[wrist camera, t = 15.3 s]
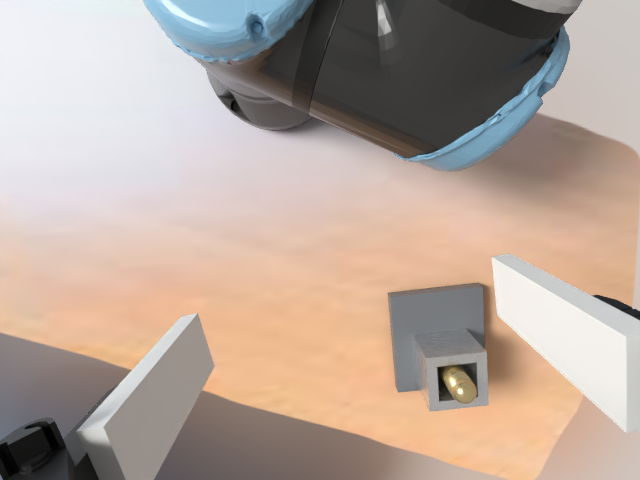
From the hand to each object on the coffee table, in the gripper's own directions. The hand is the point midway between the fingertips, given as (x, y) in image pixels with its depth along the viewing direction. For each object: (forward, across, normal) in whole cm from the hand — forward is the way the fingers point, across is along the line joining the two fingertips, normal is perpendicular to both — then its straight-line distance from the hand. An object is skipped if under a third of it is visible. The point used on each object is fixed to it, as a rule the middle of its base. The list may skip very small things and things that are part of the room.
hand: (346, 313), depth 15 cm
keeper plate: (+29, +10, -20) cm, 36 cm away
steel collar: (+27, +10, -22) cm, 36 cm away
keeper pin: (+27, +10, -22) cm, 36 cm away
